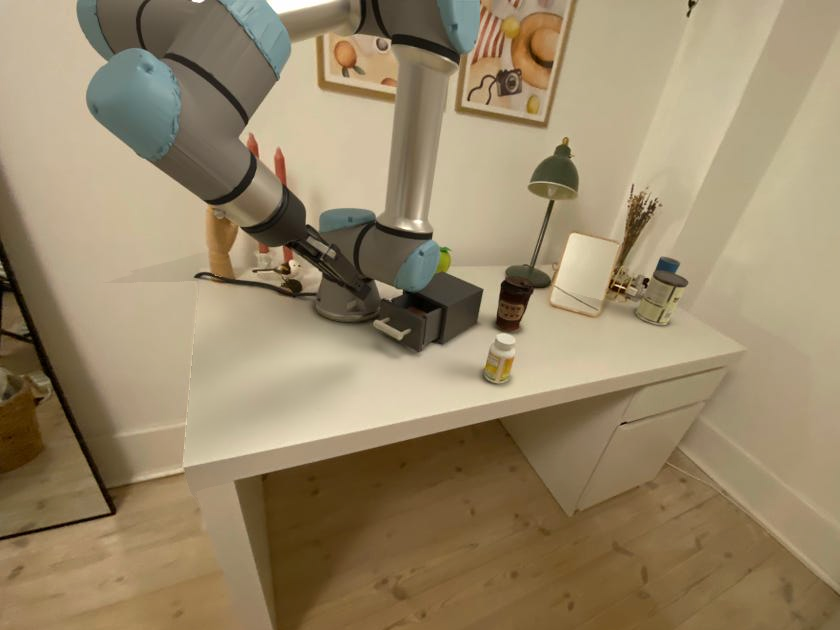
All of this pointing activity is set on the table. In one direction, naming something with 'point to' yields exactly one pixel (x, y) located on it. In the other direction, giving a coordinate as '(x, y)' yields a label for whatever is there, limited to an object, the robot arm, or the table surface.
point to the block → (416, 311)
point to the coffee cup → (513, 302)
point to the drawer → (410, 320)
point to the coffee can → (661, 297)
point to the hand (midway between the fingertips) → (364, 293)
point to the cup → (667, 264)
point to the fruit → (444, 260)
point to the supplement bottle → (500, 359)
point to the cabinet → (453, 303)
